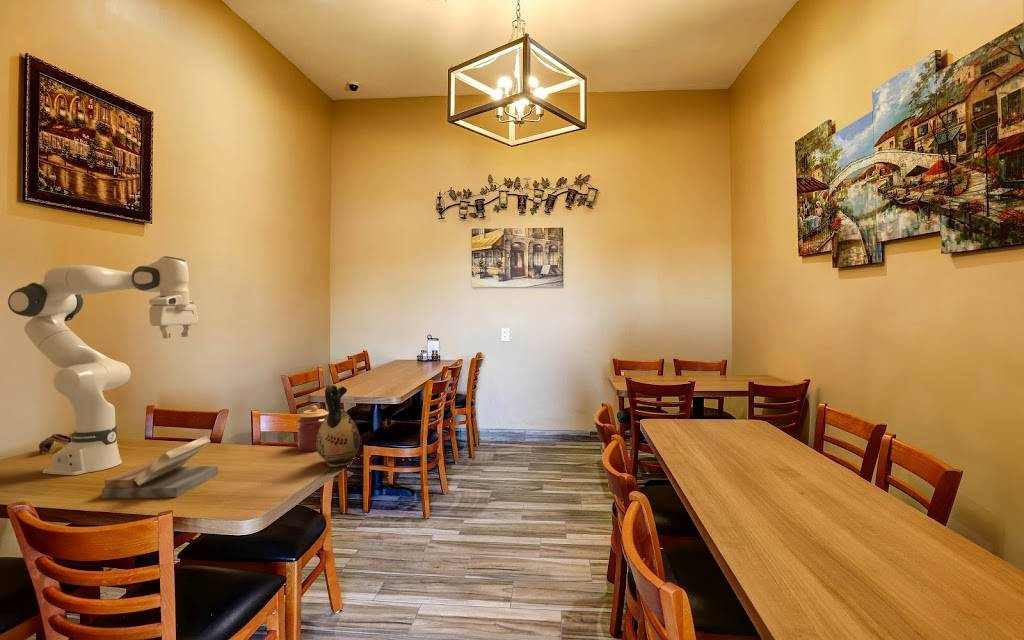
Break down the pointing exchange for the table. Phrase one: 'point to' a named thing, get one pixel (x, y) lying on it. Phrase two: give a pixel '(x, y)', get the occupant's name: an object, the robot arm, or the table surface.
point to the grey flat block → (157, 482)
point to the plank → (171, 460)
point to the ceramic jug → (337, 431)
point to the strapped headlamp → (48, 442)
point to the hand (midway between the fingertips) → (176, 337)
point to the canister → (310, 428)
